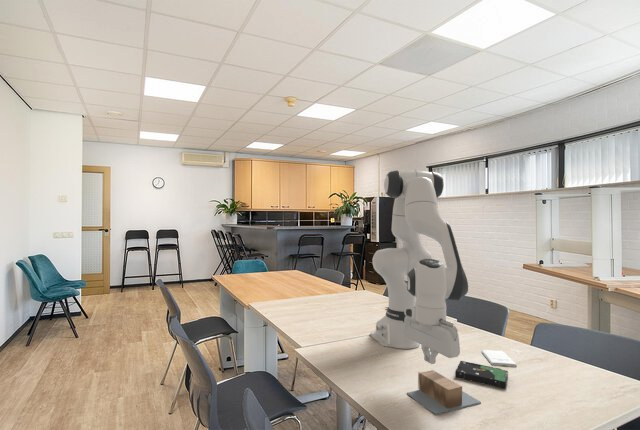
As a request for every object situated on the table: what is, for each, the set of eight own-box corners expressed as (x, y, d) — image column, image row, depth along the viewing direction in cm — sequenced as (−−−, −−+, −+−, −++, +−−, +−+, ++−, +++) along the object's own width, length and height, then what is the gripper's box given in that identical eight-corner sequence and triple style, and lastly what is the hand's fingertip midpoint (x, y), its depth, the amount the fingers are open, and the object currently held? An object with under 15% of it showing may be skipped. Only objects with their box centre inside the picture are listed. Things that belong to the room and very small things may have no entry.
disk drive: (455, 379, 115) (506, 390, 108) (455, 371, 115) (506, 381, 108) (460, 368, 124) (508, 377, 117) (460, 360, 124) (508, 369, 117)
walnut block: (418, 372, 106) (448, 389, 95) (431, 369, 108) (462, 386, 97) (418, 388, 106) (448, 408, 95) (431, 385, 108) (462, 404, 97)
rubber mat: (406, 393, 104) (406, 392, 104) (449, 384, 110) (449, 383, 110) (435, 415, 93) (435, 413, 93) (480, 403, 99) (480, 401, 99)
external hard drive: (503, 355, 137) (516, 368, 125) (481, 353, 138) (491, 366, 126) (503, 351, 137) (516, 363, 125) (481, 349, 138) (491, 361, 126)
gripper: (465, 323, 97) (465, 374, 97) (416, 306, 116) (416, 349, 116) (448, 325, 95) (447, 378, 94) (400, 308, 113) (400, 351, 113)
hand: (429, 362), depth 105 cm, fingers closed
